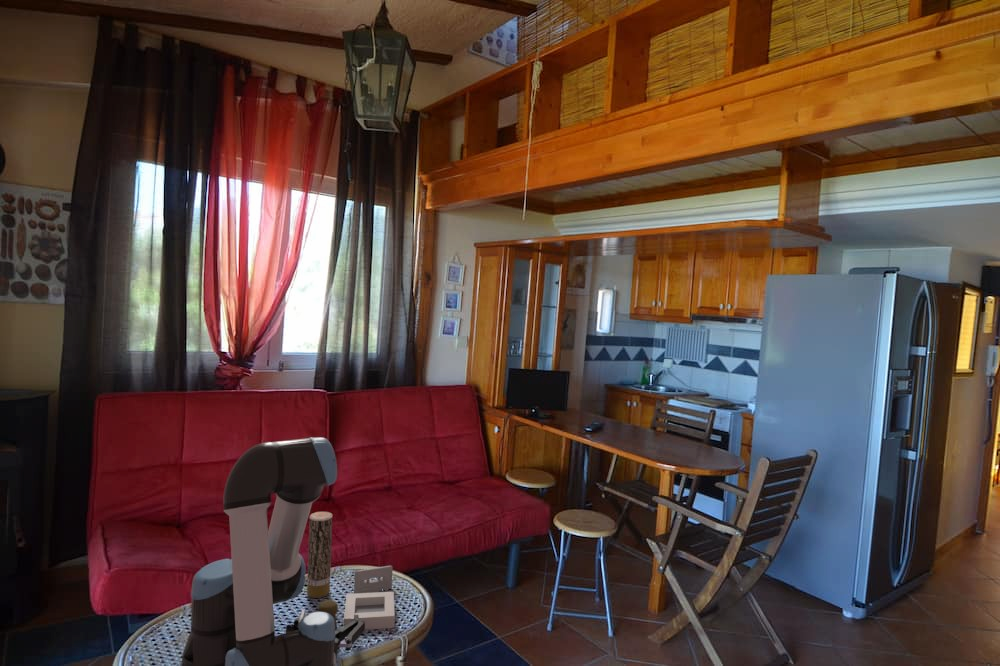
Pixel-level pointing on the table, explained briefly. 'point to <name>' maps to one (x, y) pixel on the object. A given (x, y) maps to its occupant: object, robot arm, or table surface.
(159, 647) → the table surface
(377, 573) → the cassette
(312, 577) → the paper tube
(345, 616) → the socket block
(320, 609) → the cork
